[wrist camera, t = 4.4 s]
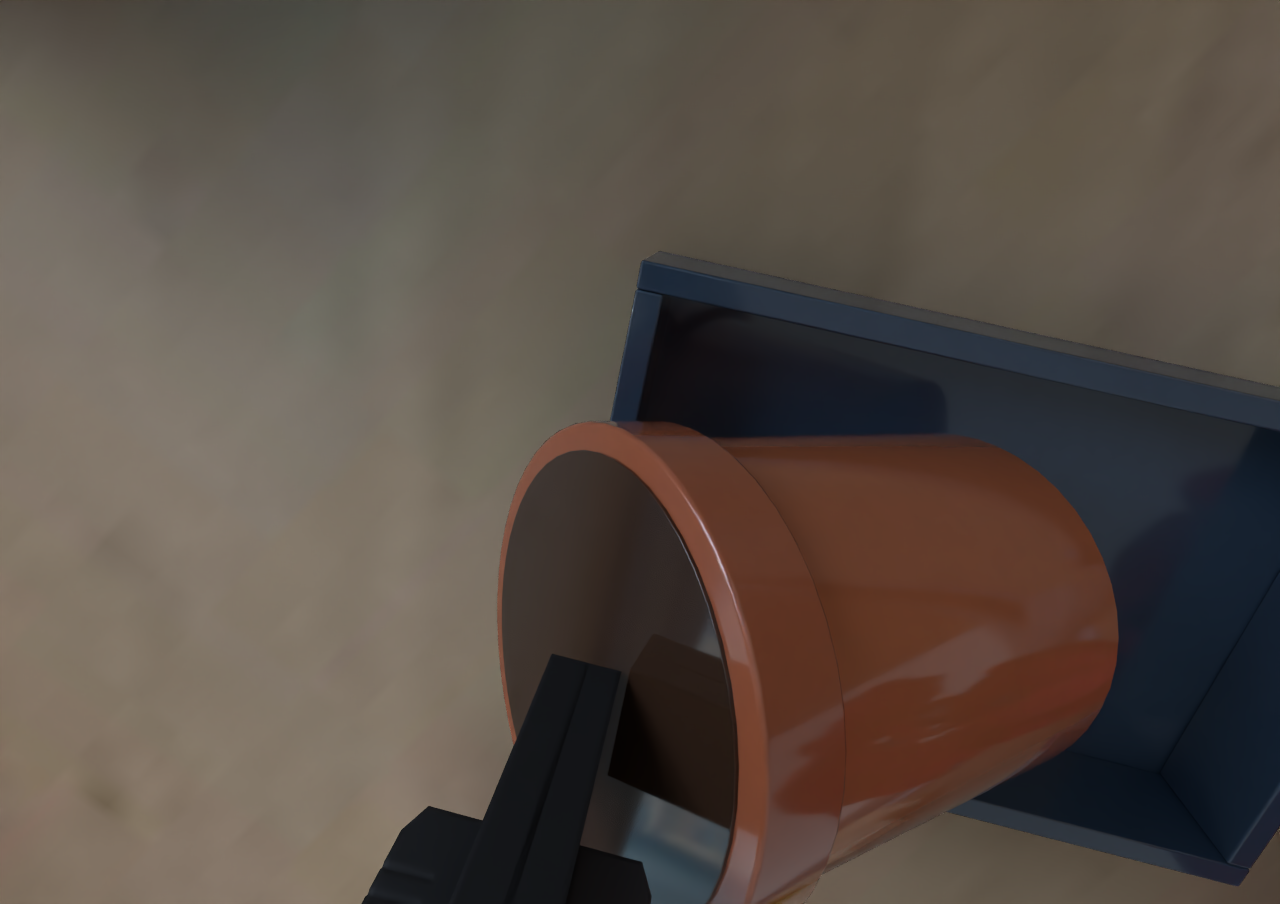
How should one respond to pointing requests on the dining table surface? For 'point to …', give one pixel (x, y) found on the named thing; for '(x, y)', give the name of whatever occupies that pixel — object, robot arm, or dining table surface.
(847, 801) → the flower pot
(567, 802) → the robot arm
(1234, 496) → the tray
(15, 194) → the dining table surface
